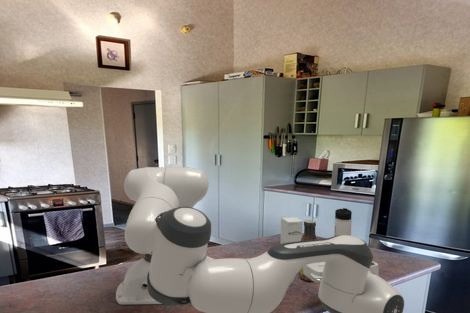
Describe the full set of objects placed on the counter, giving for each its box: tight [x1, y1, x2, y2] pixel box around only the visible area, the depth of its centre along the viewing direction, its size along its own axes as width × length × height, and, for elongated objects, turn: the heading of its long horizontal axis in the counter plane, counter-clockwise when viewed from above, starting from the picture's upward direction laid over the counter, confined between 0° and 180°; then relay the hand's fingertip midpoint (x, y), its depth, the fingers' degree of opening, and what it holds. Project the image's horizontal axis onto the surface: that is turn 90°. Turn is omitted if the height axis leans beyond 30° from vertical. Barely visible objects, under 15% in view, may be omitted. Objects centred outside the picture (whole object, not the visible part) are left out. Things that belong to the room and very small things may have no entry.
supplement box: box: [279, 216, 304, 244], centre depth 132 cm, size 7×7×13 cm
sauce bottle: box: [299, 219, 318, 282], centre depth 103 cm, size 6×6×20 cm
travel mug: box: [333, 207, 353, 237], centre depth 120 cm, size 6×7×20 cm
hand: (324, 257), depth 94 cm, fingers open, 8 cm apart
